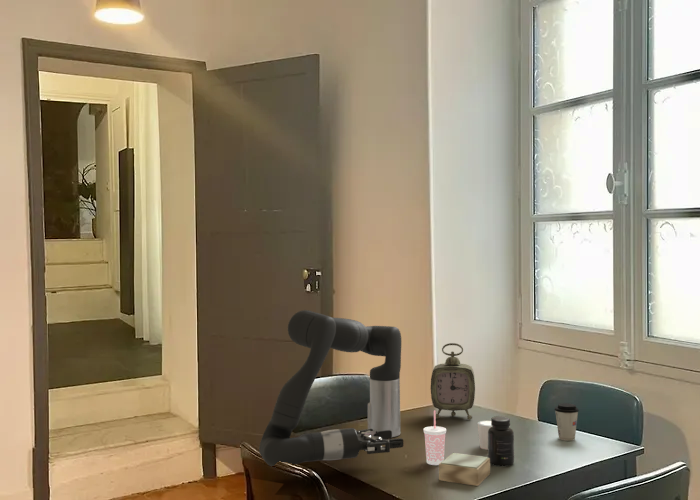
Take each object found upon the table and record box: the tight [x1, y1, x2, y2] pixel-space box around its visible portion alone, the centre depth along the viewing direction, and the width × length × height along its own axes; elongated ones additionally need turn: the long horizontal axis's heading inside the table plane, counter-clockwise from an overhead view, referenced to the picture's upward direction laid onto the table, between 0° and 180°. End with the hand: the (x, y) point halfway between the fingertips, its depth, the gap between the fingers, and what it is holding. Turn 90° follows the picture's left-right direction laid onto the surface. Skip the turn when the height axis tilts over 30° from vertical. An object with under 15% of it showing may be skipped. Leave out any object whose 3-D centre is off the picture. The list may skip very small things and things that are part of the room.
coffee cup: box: [553, 402, 580, 442], centre depth 216 cm, size 7×7×10 cm
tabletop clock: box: [430, 342, 476, 421], centre depth 242 cm, size 14×9×25 cm, turn 81°
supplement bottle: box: [487, 415, 515, 467], centre depth 193 cm, size 7×7×12 cm
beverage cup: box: [422, 410, 447, 466], centre depth 194 cm, size 6×6×14 cm
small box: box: [438, 452, 491, 487], centre depth 182 cm, size 10×10×4 cm
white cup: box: [477, 419, 492, 451], centre depth 208 cm, size 7×7×7 cm
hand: (397, 438), depth 191 cm, fingers open, 8 cm apart
